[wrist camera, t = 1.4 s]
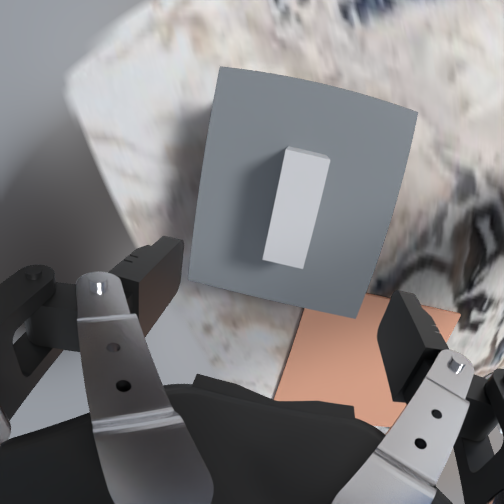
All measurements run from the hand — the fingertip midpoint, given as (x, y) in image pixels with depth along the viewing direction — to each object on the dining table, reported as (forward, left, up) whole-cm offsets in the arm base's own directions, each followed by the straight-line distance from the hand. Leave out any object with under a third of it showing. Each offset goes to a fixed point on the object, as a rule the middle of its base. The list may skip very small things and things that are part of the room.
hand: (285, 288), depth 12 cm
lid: (0, 0, -16) cm, 16 cm away
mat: (-14, +21, -22) cm, 34 cm away
